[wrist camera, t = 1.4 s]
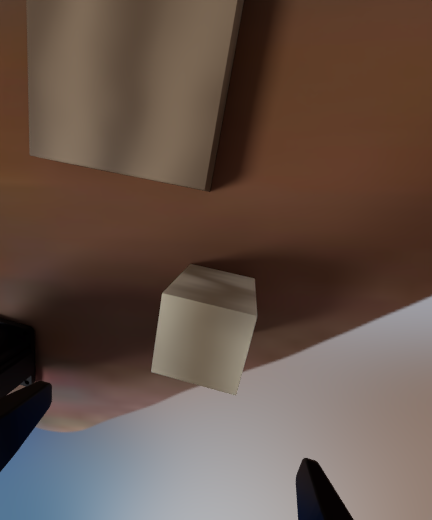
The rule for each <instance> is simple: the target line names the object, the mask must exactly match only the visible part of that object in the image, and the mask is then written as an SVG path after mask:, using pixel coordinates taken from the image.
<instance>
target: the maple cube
mask: <svg viewBox="0 0 432 520" xmlns="http://www.w3.org/2000/svg"><path fill="white" fill-rule="evenodd" d="M256 320H257V303H256V289H255V278H250V277H246V276H241V275H237V274H233V273H228V272H224V271H220V270H215V269H211V268H207V267H202V266H198V265H194V264H190V265H189V266H188V267H187V268H186V269H185V270H184V271H183V272H182V273H181V274H180V275H179V276H178V277H177V278H176V279H175V280H174V281H173V282H172V283H171V284H170V285H169V286H168V287H167V289H166V290H165V291H164V292H163V293H162V298H161V305H160V312H159V319H158V326H157V333H156V340H155V347H154V354H153V361H152V368H151V372H153V373H157V374H160V375H164V376H168V377H171V378H175V379H178V380H182V381H186V382H189V383H193V384H196V385H200V386H204V387H207V388H211V389H215V390H218V391H222V392H225V393H229V394H233V395H236V394H237V390H238V387H239V383H240V379H241V375H242V372H243V368H244V364H245V361H246V357H247V353H248V349H249V346H250V342H251V338H252V335H253V331H254V327H255V323H256Z"/></svg>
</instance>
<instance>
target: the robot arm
mask: <svg viewBox="0 0 432 520" xmlns="http://www.w3.org/2000/svg"><path fill="white" fill-rule="evenodd" d="M19 385H23V386H26V387H24V388H22V389H20V390H18V391H15V392H13V393H11V394H9V395H7V394H8V393H10V392H11V391H12V390H13V389H15V388H16V387H17V386H19ZM51 402H52V385H51V384H50V383H47V382H44V381H38V382H35V341H34V330H33V328H31V327H30V326H26V325H22V324H19V323H15V322H11V321H8V320H4V319H0V472H1V470H2V469H3V468H4V467H5V466H6V464H7V463H8V462H9V461H10V460H11V458H12V457H13V456H14V455H15V453H16V452H17V451H18V449H19V448H20V447H21V445H22V444H23V443H24V441H25V440H26V438H27V437H28V436H29V434H30V433H31V432H32V430H33V429H34V428H35V426H36V425H37V424H38V422H39V421H40V420H41V418H42V417H43V416H44V414H45V413H46V411H47V410H48V409H49V407H50V405H51ZM296 492H297V508H298V520H353V518H352V516H351V515H350V513H349V512H348V510H347V508H346V507H345V505H344V503H343V502H342V500H341V499H340V497H339V495H338V494H337V492H336V491H335V489H334V487H333V486H332V484H331V483H330V481H329V479H328V478H327V476H326V475H325V473H324V471H323V470H322V468H321V467H320V465H319V463H318V462H317V461H315V460H311V459H308V458H304V459H303V460H302V463H301V465H300V467H299V470H298V472H297V475H296Z"/></svg>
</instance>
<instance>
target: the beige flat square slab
mask: <svg viewBox="0 0 432 520" xmlns="http://www.w3.org/2000/svg"><path fill="white" fill-rule="evenodd" d="M243 4H244V0H27V48H28V97H29V145H30V155H31V156H35V157H40V158H44V159H49V160H54V161H58V162H63V163H68V164H73V165H78V166H83V167H88V168H93V169H98V170H104V171H109V172H114V173H119V174H124V175H129V176H134V177H139V178H144V179H149V180H154V181H159V182H164V183H169V184H174V185H179V186H184V187H189V188H194V189H199V190H204V191H209V192H210V188H211V183H212V177H213V172H214V166H215V161H216V155H217V149H218V144H219V138H220V133H221V127H222V121H223V116H224V110H225V105H226V99H227V94H228V88H229V82H230V77H231V71H232V66H233V60H234V54H235V49H236V43H237V38H238V32H239V27H240V21H241V15H242V10H243Z"/></svg>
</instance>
